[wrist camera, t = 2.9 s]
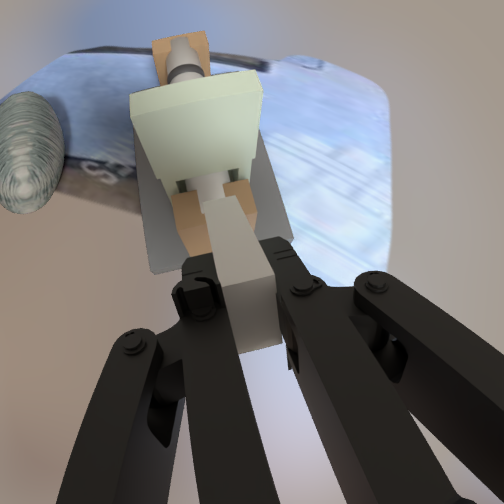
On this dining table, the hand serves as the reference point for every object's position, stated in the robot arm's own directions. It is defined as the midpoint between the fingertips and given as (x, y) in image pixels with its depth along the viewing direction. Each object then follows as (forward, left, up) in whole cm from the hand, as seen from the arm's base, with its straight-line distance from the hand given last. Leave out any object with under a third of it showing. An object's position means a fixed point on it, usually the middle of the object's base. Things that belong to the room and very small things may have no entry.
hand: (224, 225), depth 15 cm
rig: (0, +12, -13) cm, 17 cm away
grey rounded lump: (-18, +17, -13) cm, 28 cm away
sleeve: (0, +7, -8) cm, 11 cm away
